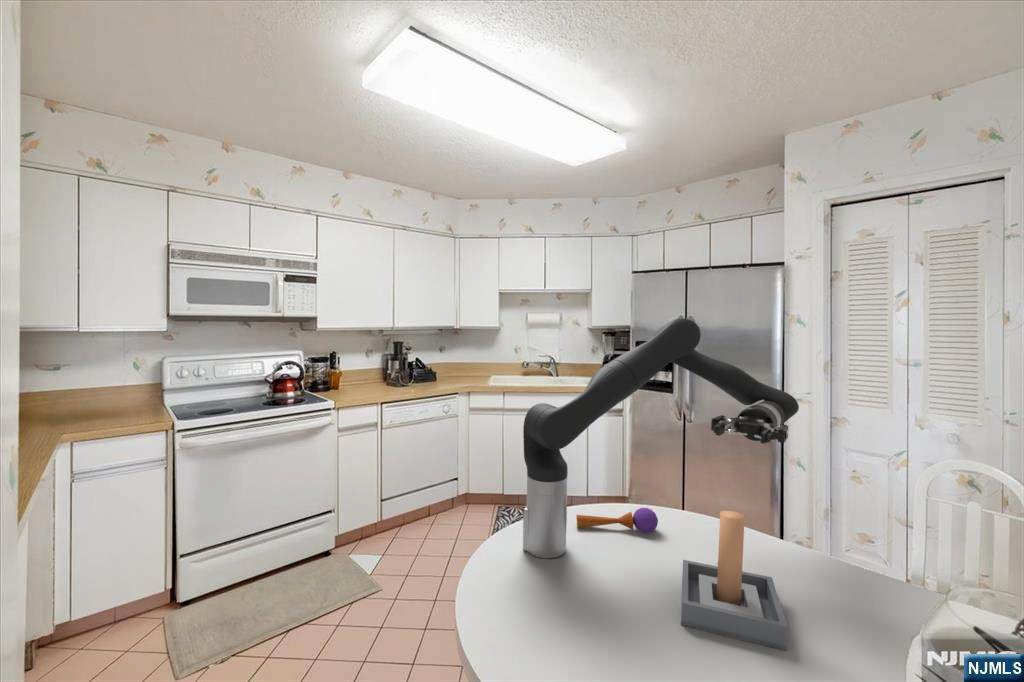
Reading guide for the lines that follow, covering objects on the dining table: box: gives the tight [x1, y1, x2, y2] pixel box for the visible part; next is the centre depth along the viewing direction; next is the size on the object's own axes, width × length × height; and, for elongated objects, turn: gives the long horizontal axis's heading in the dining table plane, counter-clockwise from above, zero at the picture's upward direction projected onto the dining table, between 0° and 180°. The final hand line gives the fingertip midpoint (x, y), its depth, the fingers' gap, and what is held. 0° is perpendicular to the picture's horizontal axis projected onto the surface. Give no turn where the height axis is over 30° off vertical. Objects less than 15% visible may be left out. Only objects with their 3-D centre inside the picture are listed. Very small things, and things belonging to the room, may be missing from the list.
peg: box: [716, 510, 746, 606], centre depth 82 cm, size 4×4×17 cm
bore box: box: [680, 559, 789, 652], centre depth 83 cm, size 16×15×4 cm
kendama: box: [576, 507, 659, 534], centre depth 113 cm, size 6×6×20 cm
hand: (739, 434), depth 92 cm, fingers open, 8 cm apart
